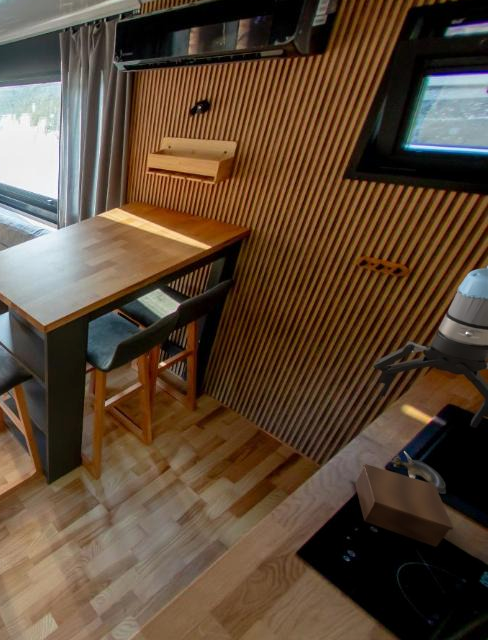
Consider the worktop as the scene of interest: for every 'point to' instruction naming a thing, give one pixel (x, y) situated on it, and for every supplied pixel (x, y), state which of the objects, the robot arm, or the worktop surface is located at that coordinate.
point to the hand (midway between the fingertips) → (425, 407)
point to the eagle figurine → (421, 472)
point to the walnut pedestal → (402, 505)
